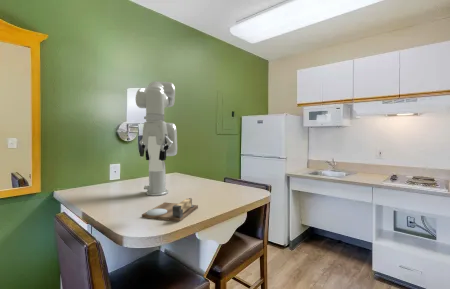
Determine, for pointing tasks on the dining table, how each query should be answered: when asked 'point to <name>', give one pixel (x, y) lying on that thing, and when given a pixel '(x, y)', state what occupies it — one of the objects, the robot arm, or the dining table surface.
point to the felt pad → (156, 212)
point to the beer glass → (154, 155)
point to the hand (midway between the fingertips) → (155, 159)
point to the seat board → (171, 212)
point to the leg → (181, 207)
